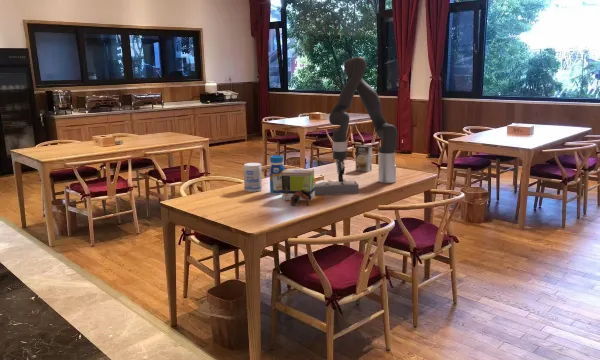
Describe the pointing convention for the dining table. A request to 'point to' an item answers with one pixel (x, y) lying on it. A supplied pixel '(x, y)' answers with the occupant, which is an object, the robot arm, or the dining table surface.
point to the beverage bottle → (276, 174)
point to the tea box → (297, 182)
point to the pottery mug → (301, 193)
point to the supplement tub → (252, 177)
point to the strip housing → (337, 189)
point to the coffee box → (363, 158)
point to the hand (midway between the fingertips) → (340, 181)
